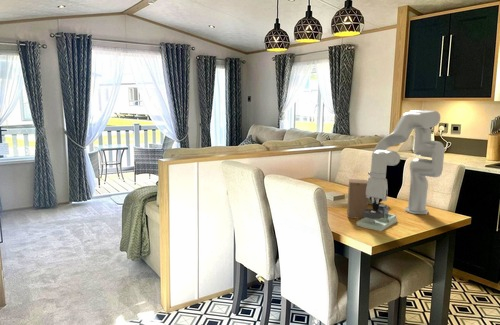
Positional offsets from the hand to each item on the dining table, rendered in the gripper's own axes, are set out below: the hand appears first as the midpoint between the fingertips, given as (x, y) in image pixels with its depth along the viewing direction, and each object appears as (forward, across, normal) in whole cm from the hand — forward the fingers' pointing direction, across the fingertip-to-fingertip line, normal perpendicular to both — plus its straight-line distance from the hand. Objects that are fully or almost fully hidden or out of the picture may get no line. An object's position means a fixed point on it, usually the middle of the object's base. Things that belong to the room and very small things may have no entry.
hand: (375, 210), depth 200 cm
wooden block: (+8, -14, +9) cm, 19 cm away
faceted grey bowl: (+3, 0, -3) cm, 4 cm away
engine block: (+6, 0, +9) cm, 11 cm away
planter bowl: (+8, -20, +42) cm, 47 cm away
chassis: (+8, 0, +4) cm, 9 cm away
